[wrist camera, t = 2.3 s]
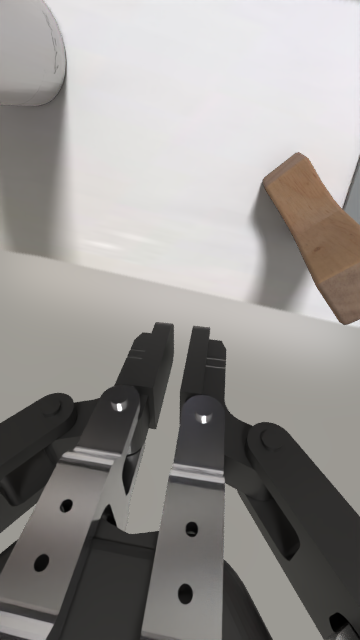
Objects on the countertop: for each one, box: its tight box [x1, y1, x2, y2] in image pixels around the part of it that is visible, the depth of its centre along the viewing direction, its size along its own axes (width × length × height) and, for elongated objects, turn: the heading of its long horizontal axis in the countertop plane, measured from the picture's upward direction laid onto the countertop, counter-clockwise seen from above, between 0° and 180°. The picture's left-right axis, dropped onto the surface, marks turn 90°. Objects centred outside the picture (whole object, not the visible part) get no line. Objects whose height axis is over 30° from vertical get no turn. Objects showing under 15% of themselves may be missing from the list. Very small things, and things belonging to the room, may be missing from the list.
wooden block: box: [263, 152, 360, 325], centre depth 26 cm, size 9×4×18 cm, turn 40°
